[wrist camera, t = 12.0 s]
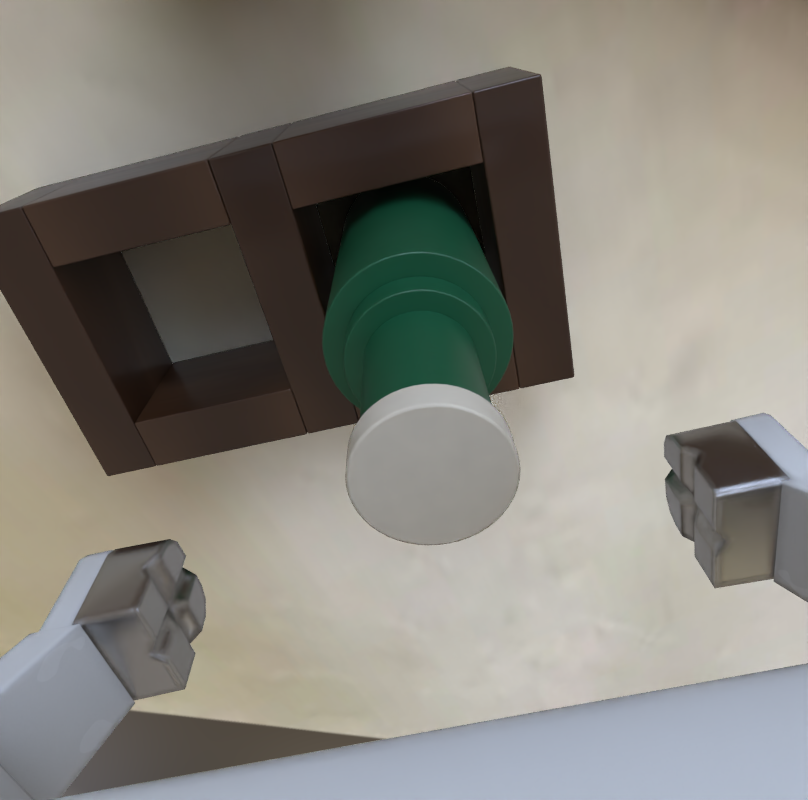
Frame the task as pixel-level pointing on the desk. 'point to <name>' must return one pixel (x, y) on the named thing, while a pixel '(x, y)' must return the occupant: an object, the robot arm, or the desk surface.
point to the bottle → (420, 366)
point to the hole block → (273, 264)
